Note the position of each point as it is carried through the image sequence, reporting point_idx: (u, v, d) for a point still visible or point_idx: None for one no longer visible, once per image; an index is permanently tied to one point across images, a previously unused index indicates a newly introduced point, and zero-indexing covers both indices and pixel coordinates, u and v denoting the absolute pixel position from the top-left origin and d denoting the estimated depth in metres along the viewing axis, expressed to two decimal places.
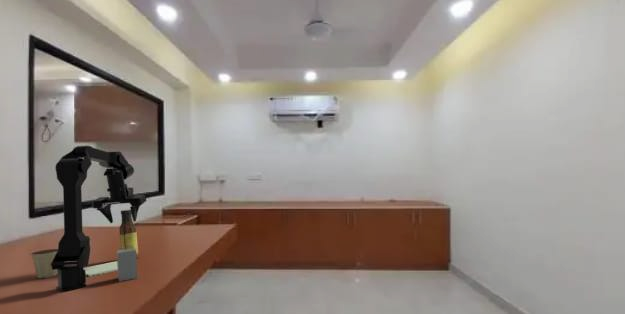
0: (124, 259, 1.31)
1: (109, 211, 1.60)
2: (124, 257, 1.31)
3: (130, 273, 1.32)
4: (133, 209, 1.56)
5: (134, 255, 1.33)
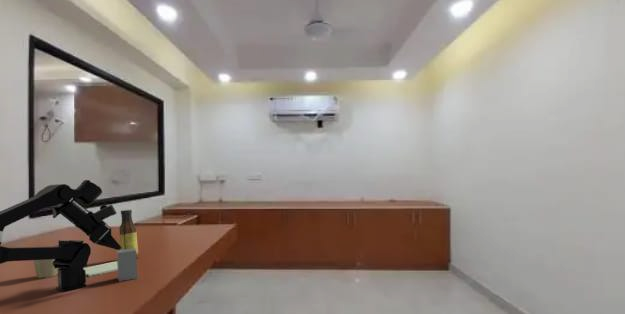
0: (124, 259, 1.31)
1: None
2: (124, 257, 1.31)
3: (130, 273, 1.32)
4: (99, 244, 1.25)
5: (134, 255, 1.33)
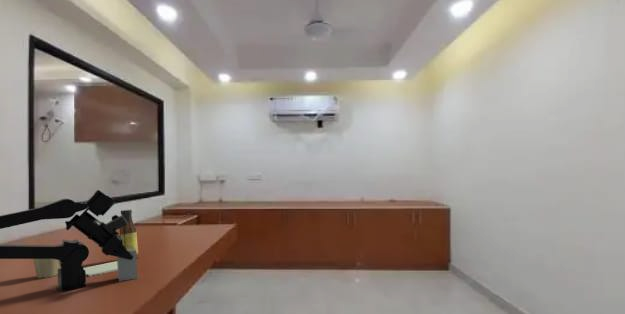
0: (124, 259, 1.31)
1: None
2: None
3: (130, 273, 1.32)
4: (111, 255, 1.28)
5: (134, 255, 1.33)
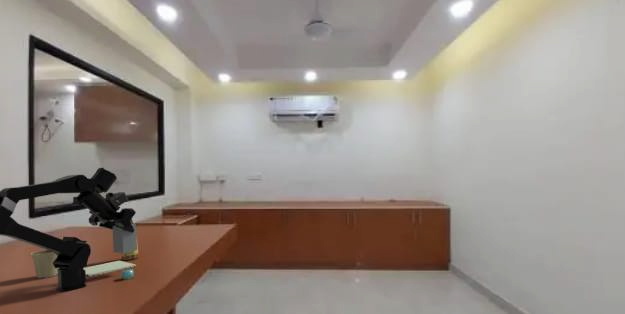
0: (127, 232, 1.41)
1: (114, 222, 1.43)
2: None
3: (131, 245, 1.42)
4: (120, 228, 1.37)
5: (134, 228, 1.43)
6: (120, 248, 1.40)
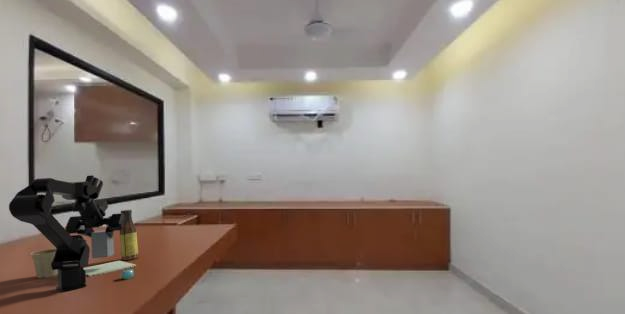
0: (109, 237, 1.48)
1: (91, 229, 1.47)
2: None
3: (111, 249, 1.49)
4: (109, 232, 1.44)
5: None
6: (103, 253, 1.46)
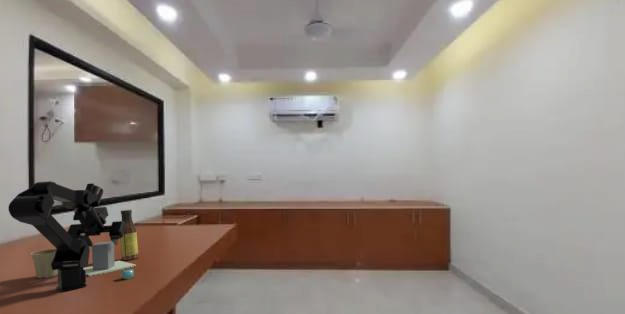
0: (109, 249, 1.48)
1: (86, 237, 1.47)
2: (109, 247, 1.48)
3: (112, 261, 1.49)
4: (114, 240, 1.44)
5: (113, 245, 1.51)
6: (103, 265, 1.46)
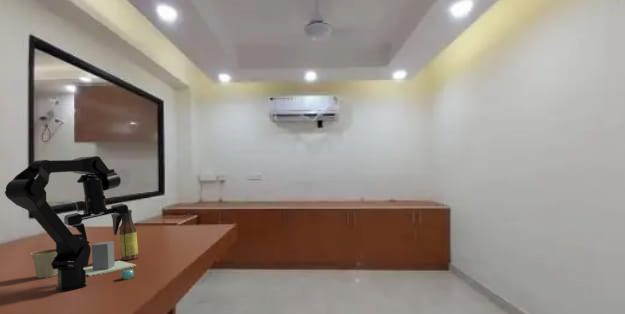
0: (109, 249, 1.48)
1: None
2: (109, 247, 1.48)
3: (112, 261, 1.49)
4: (120, 218, 1.41)
5: (113, 245, 1.51)
6: (103, 265, 1.46)
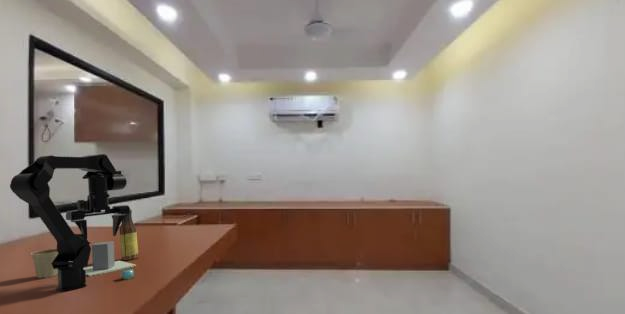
0: (109, 249, 1.48)
1: None
2: (109, 247, 1.48)
3: (112, 261, 1.49)
4: (121, 218, 1.41)
5: (113, 245, 1.51)
6: (103, 265, 1.46)
